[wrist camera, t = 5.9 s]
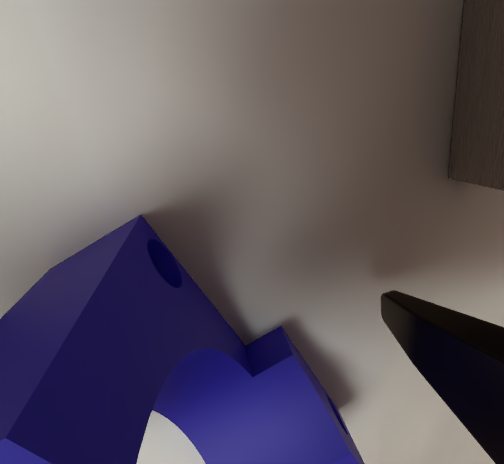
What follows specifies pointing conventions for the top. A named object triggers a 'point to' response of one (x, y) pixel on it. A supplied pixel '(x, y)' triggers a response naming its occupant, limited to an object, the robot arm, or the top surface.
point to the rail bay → (480, 97)
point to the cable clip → (151, 368)
